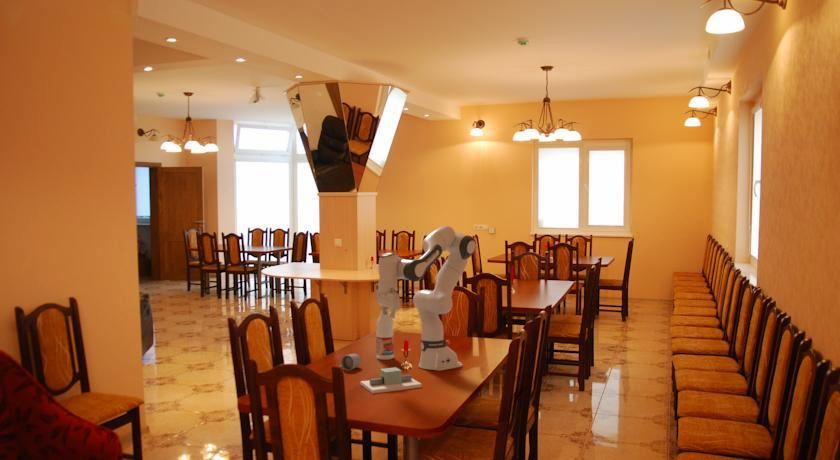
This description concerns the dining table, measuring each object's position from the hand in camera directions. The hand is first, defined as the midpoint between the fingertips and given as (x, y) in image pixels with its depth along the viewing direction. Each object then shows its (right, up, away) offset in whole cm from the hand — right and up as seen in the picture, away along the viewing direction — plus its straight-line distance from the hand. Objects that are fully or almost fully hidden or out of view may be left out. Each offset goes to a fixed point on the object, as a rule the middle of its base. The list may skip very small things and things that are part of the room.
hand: (388, 316), depth 323 cm
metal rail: (+1, -29, -9) cm, 31 cm away
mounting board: (+1, -31, -9) cm, 32 cm away
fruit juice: (-4, -29, +46) cm, 54 cm away
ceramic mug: (-21, -30, +23) cm, 43 cm away
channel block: (+1, -29, -9) cm, 31 cm away
